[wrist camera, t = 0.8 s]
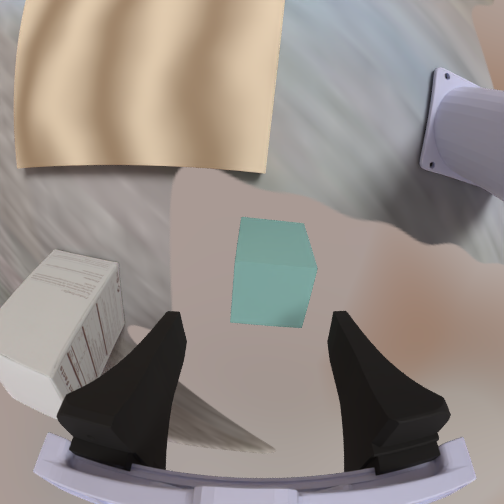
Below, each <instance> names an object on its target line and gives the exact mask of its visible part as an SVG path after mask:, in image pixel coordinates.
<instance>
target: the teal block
mask: <svg viewBox="0 0 504 504" xmlns="http://www.w3.org/2000/svg"><path fill="white" fill-rule="evenodd" d="M316 273H317V265H316V262H315V258H314V255H313V252H312V248H311V245H310V242H309V239H308V235H307V233H306V229H305V226H304V224H303V223H295V222H286V221H277V220H267V219H257V218H248V217H242V218H241V224H240V230H239V236H238V243H237V250H236V258H235V266H234V280H233V294H232V306H231V320H230V322H232V323H242V324H254V325H266V326H279V327H294V328H302V325H303V322H304V317H305V314H306V311H307V307H308V303H309V300H310V296H311V292H312V288H313V284H314V281H315V276H316Z"/></svg>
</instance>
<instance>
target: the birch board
mask: <svg viewBox="0 0 504 504" xmlns="http://www.w3.org/2000/svg"><path fill="white" fill-rule="evenodd" d="M284 4H285V0H26V2H25V7H24V11H23V16H22V22H21V27H20V33H19V40H18V48H17V56H16V67H15V82H14V133H15V149H16V160H17V168H29V167H45V166H68V165H154V166H178V167H196V168H211V169H224V170H236V171H247V172H257V173H265V171H266V162H267V154H268V145H269V137H270V128H271V119H272V111H273V102H274V93H275V84H276V76H277V67H278V58H279V49H280V40H281V31H282V22H283V13H284Z"/></svg>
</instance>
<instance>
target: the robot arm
mask: <svg viewBox="0 0 504 504" xmlns="http://www.w3.org/2000/svg"><path fill="white" fill-rule="evenodd" d="M445 74H446V75H447V79H446V78H445ZM431 162H432V163H433V165H432V166H431V167H430V163H431ZM419 164H420V166H421V168H423V169H425V170H427V171H431V172H434V173H438V174H441V175H445V176H448V177H451V178H454V179H457V180H461V181H464V182H467V183H470V184H473V185H476V186H478V187H481V188H483V189H485V190H486V191H488V192H489V193H491V194H493V195H494V196H496V197H497V198H499V199H501V200H502V201H504V91H501V90H494V89H486V88H481V87H479V86H477V85H475V84H474V83H472V82H470V81H468V80H466V79H464V78H462V77H460V76H458V75H456V74H454V73H452V72H450V71H448V70H446V69H444V68H441V67H438V68H436V69H435V71H434V78H433V87H432V95H431V102H430V109H429V115H428V121H427V127H426V132H425V138H424V143H423V148H422V152H421V157H420V163H419ZM186 343H187V340H186V336H185V332H184V328H183V324H182V320H181V315H180V312H174V311H167V312H166V313H165V315H164V316H163V317H162V318H161V319H160V321H159V322H158V323H157V324H156V325H155V327H154V328H153V329H152V330H151V331H150V333H148V335H147V336H146V337H145V338H144V339H143V340H142V341H141V343H139V344H138V345H137V346H136V347H135V348H134V349H133V350H132V351H131V352H130V353H129V354H128V355H127V356H126V357H125V358H124V359H123V360H122V361H120V362H119V363H118V364H117V365H116V366H114V367H113V368H112V369H110V370H109V371H107V372H106V373H105V374H103V375H102V376H100V377H99V378H97V379H95V380H94V381H92V382H90V383H88V384H87V385H85V386H83V387H81V388H79V389H77V390H75V391H72V392H70V393H68V394H66V396H65V398H64V400H63V402H62V404H61V406H60V408H59V411H58V413H57V416H56V417H57V419H58V421H59V422H60V424H61V425H62V426H63V427H64V428H65V429H66V430H67V431H68V432H69V433H70V434H71V435H72V436H73V439H72V442H71V441H70V440H68V439H66V438H64V437H61V436H58V435H56V434H53V433H51V432H48V434H47V436H46V439H45V441H44V443H43V446H42V448H41V451H40V454H39V456H38V459H37V462H36V465H35V467H34V470H33V471H34V473H35V474H37V475H38V476H40V477H42V478H43V479H45V480H46V481H48V482H49V483H51V484H53V485H54V486H56V487H58V488H59V489H61V490H63V491H66V492H68V493H70V494H72V495H75V496H77V497H80V498H82V499H84V500H87V501H89V502H92V503H95V504H429V503H432V502H434V501H436V500H439V499H442V498H444V497H446V496H449V495H451V494H452V493H454V492H456V491H458V490H459V489H461V488H463V487H464V486H466V485H468V484H469V483H471V482H472V481H474V480H475V479H476V475H475V472H474V468H473V465H472V462H471V459H470V455H469V452H468V450H467V446H466V444H465V440H464V438H463V437H460V438H457V439H454V440H452V441H449V442H446V443H444V444H442V445H440V446H438V445H437V441H438V440H439V436H438V433H437V432H438V431H439V430H440V429H441V428H442V427H443V426H444V425H445V424H446V423H447V421H448V420H449V418H450V415H451V414H450V412H449V409H448V406H447V404H446V402H445V400H444V398H443V397H442V396H440V395H438V394H436V393H433V392H432V391H430V390H428V389H426V388H424V387H423V386H421V385H420V384H418V383H416V382H415V381H413V380H412V379H410V378H409V377H408V376H406V375H405V374H404V373H402V372H401V371H400V370H399V369H397V368H396V367H395V366H394V365H393V364H392V363H390V362H389V361H388V360H387V359H386V358H385V357H384V356H383V355H382V354H381V353H380V352H379V351H378V350H377V349H376V347H375V346H374V345H373V344H372V343H371V342H370V341H369V340H368V338H367V337H366V336H365V335H364V333H363V332H362V331H361V330H360V329H359V327H358V326H357V325H356V323H355V322H354V321H353V319H352V318H351V317H350V315H349V314H348V313H347V312H346V311H334V312H333V317H332V322H331V327H330V332H329V337H328V350H329V358H330V363H331V367H332V371H333V375H334V379H335V383H336V388H337V392H338V395H339V400H340V406H341V416H342V426H343V438H344V439H343V440H344V472H343V473H336V474H328V475H318V476H307V477H291V478H234V477H218V476H206V475H197V474H189V473H181V472H174V471H168V470H166V449H167V437H168V428H169V420H170V413H171V406H172V401H173V397H174V393H175V390H176V386H177V383H178V379H179V375H180V372H181V369H182V365H183V362H184V357H185V350H186Z"/></svg>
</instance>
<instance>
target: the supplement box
mask: <svg viewBox="0 0 504 504" xmlns="http://www.w3.org/2000/svg"><path fill="white" fill-rule="evenodd" d="M124 324H125V321H124V312H123V304H122V294H121V284H120V273H119V264H118V263H117V262H112V261H107V260H102V259H97V258H92V257H88V256H83V255H78V254H74V253H69V252H65V251H60V250H56V249H54V251H53V252H52V253H51V254H50V255H49V256H48V257H47V258H46V259H45V260H44V261H43V262H42V263H41V264H40V265H39V266H38V267H37V268H36V269H35V270H34V271H33V272H32V273H31V274H30V275H29V276H28V277H27V279H26V280H25V281H24V282H23V283H22V284H21V285H20V286H19V287H18V288H17V290H16V291H15V292H14V293H13V294H12V295H11V296H10V298H9V299H8V300H7V301H6V302H5V304H4V305H3V306H2V307H1V308H0V381H1V383H2V385H3V386H4V388H5V389H6V390H7V392H8V393H9V394H10V396H11V397H12V398H13V399H15V400H17V401H19V402H21V403H23V404H25V405H27V406H29V407H31V408H33V409H35V410H37V411H39V412H41V413H43V414H46V415H48V416H50V417H52V418H54V419H56V420H58V419H57V417H56V416H57V413H58V411H59V408H60V406H61V404H62V402H63V400H64V398H65V396H66V394H68V393H70V392H72V391H75V390H77V389H79V388H81V387H83V386H85V385H87V384H88V383H90V382H92V381H94V380H95V379H97V378H99V377H100V376H101V374H102V372H103V369H104V367H105V365H106V363H107V361H108V358H109V356H110V354H111V352H112V349H113V347H114V345H115V343H116V341H117V339H118V337H119V335H120V333H121V331H122V328H123V326H124Z"/></svg>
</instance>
